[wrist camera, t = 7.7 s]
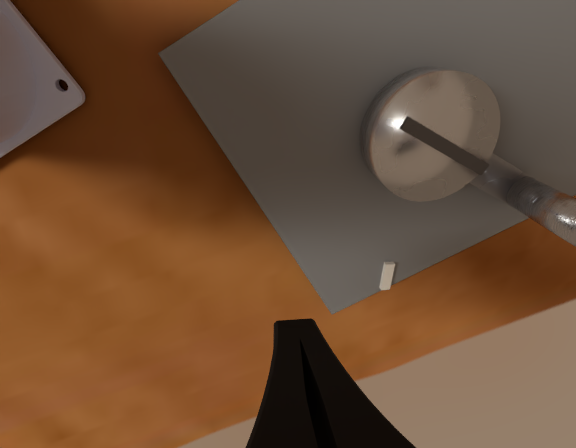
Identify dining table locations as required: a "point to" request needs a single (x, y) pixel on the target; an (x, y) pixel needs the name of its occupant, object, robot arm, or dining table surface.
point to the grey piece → (451, 146)
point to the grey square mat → (350, 112)
